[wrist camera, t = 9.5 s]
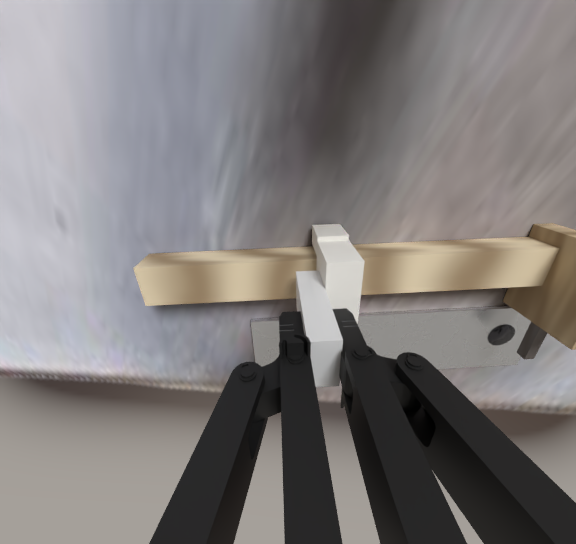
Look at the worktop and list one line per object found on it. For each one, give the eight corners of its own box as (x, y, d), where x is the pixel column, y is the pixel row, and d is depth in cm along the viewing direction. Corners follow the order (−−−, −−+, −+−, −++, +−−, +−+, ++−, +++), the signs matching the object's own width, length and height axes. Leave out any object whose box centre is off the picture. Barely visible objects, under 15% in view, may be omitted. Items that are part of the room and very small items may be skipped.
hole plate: (250, 319, 23) (250, 322, 22) (541, 303, 23) (546, 306, 23) (257, 376, 26) (257, 380, 25) (513, 361, 27) (517, 365, 26)
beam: (177, 349, 24) (149, 410, 19) (145, 241, 19) (95, 279, 14) (518, 331, 25) (585, 383, 19) (568, 222, 20) (675, 252, 15)
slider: (310, 352, 24) (320, 410, 19) (312, 225, 19) (326, 257, 14) (332, 350, 24) (348, 409, 19) (339, 223, 19) (365, 256, 14)
